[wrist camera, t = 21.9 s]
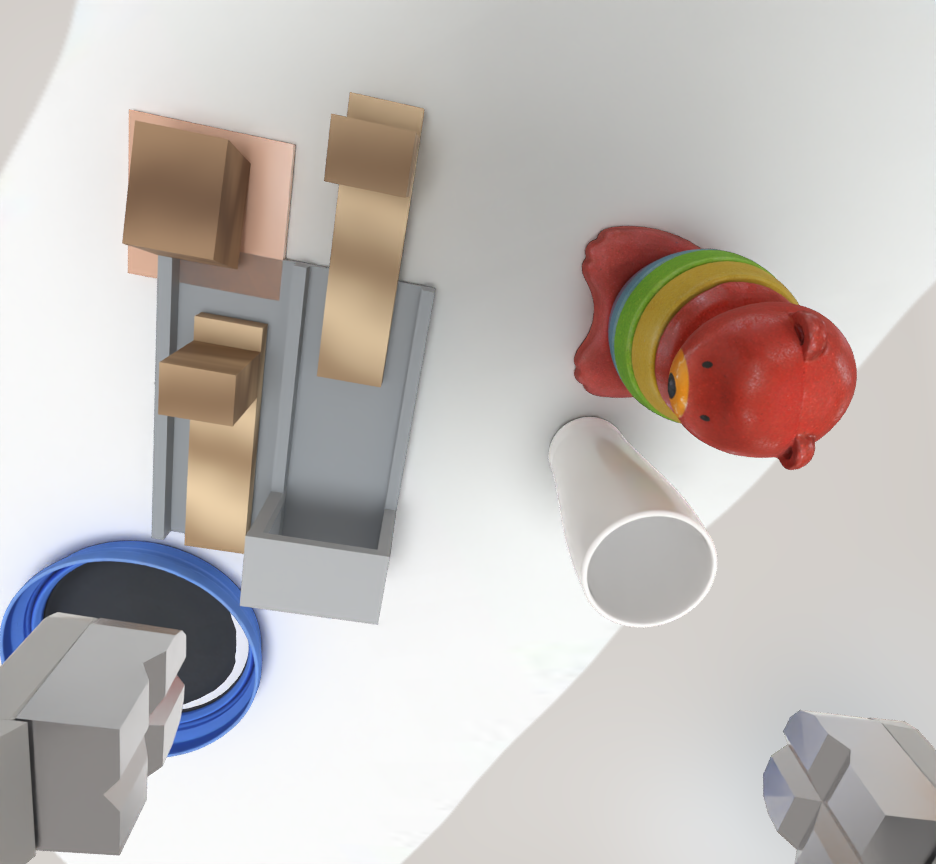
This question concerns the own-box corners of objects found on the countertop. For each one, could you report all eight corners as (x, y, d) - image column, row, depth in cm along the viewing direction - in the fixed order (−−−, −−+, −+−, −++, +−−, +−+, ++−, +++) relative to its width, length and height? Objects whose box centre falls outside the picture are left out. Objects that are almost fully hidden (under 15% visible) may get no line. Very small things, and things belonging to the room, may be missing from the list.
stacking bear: (584, 224, 39) (689, 257, 22) (746, 228, 39) (967, 262, 23) (570, 393, 43) (650, 526, 26) (717, 394, 43) (887, 526, 27)
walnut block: (169, 147, 36) (135, 120, 32) (250, 163, 36) (228, 139, 32) (157, 255, 37) (122, 243, 32) (237, 269, 37) (213, 260, 33)
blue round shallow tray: (32, 708, 51) (4, 744, 48) (22, 513, 45) (-11, 539, 42) (260, 735, 53) (248, 772, 50) (281, 552, 47) (268, 580, 44)
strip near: (352, 94, 35) (335, 78, 29) (424, 110, 36) (421, 97, 30) (320, 370, 41) (300, 402, 35) (382, 381, 41) (372, 414, 35)
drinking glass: (542, 500, 46) (586, 640, 32) (530, 412, 43) (573, 522, 29) (636, 485, 46) (721, 618, 32) (630, 396, 43) (719, 499, 29)
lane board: (170, 236, 38) (109, 249, 31) (435, 287, 40) (433, 311, 33) (162, 525, 45) (110, 588, 38) (387, 558, 47) (377, 624, 40)
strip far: (201, 312, 39) (160, 334, 33) (267, 324, 40) (237, 348, 34) (190, 536, 45) (153, 588, 39) (248, 544, 45) (220, 597, 39)
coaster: (133, 110, 36) (128, 109, 35) (295, 144, 37) (293, 144, 36) (132, 271, 39) (127, 272, 38) (281, 299, 40) (279, 301, 39)
